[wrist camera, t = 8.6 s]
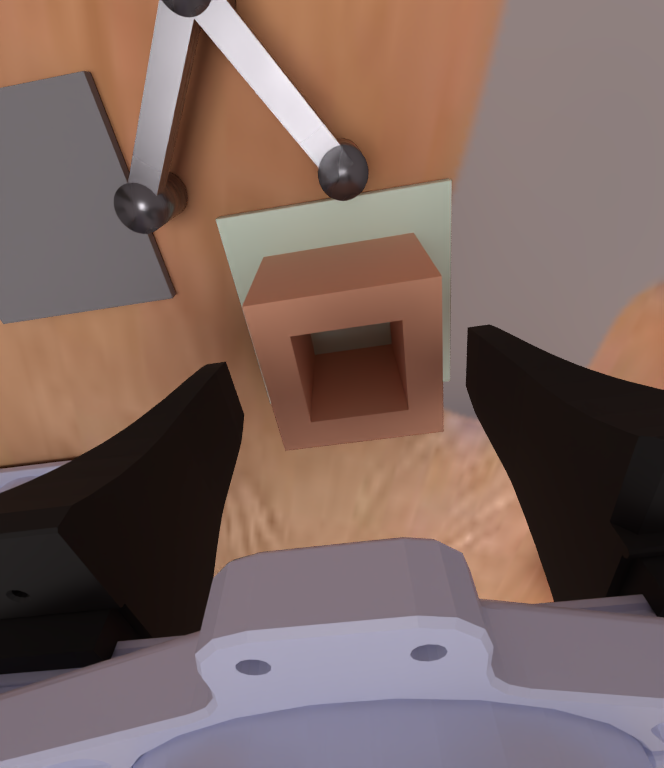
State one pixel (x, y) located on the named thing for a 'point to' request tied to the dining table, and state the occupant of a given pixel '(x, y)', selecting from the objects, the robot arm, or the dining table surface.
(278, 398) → the tan square ring block
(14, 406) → the dining table surface
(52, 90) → the mat
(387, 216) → the pad
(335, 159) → the grey v-shaped linkage
